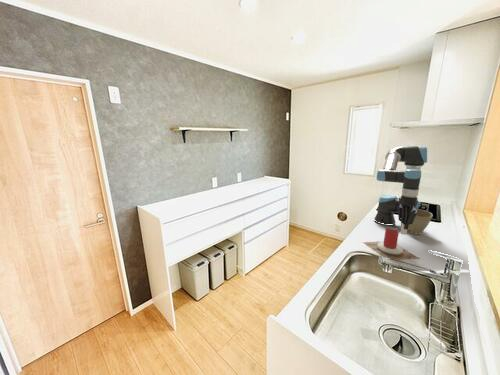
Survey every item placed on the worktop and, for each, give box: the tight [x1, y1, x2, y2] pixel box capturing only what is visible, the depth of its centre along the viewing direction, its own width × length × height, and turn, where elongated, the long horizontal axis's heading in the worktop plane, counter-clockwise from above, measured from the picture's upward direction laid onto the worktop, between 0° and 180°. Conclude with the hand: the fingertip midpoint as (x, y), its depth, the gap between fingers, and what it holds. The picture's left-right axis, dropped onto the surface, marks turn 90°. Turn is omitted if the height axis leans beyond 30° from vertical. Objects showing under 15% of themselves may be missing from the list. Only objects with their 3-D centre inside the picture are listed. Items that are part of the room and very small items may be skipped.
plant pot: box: [407, 208, 434, 235], centre depth 151 cm, size 15×15×16 cm
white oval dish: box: [377, 241, 404, 255], centre depth 126 cm, size 20×13×5 cm, turn 138°
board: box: [362, 241, 421, 261], centre depth 123 cm, size 22×20×7 cm
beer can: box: [383, 226, 399, 249], centre depth 123 cm, size 7×7×12 cm
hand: (403, 233), depth 123 cm, fingers closed
